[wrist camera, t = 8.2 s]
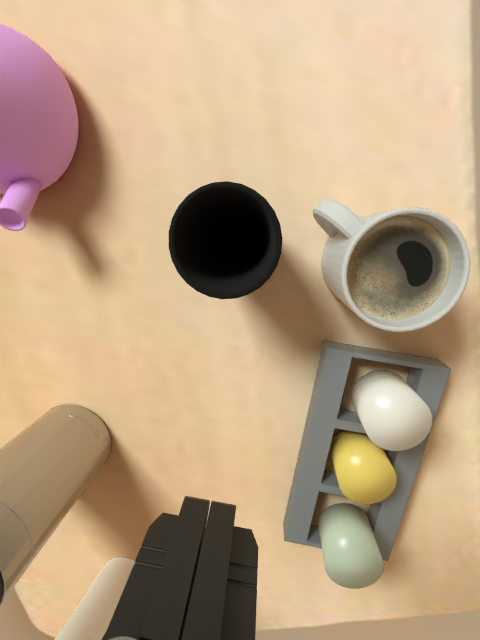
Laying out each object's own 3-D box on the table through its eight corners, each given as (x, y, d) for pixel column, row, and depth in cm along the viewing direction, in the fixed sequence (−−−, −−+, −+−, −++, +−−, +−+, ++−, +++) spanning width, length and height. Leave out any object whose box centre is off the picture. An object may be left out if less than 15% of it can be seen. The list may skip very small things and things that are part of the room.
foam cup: (170, 571, 45) (132, 699, 33) (140, 613, 48) (93, 748, 35) (108, 536, 45) (45, 653, 32) (80, 580, 47) (11, 706, 34)
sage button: (362, 548, 39) (375, 593, 34) (313, 539, 39) (319, 582, 34) (374, 508, 37) (390, 549, 32) (323, 499, 38) (331, 537, 33)
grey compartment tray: (380, 541, 41) (387, 560, 39) (283, 523, 42) (284, 540, 40) (438, 359, 35) (450, 368, 33) (324, 340, 36) (328, 348, 34)
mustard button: (373, 475, 39) (388, 508, 34) (325, 466, 39) (333, 498, 34) (386, 432, 38) (403, 461, 33) (335, 423, 38) (345, 450, 33)
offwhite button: (400, 425, 35) (421, 456, 30) (345, 415, 35) (358, 444, 30) (415, 375, 33) (440, 398, 28) (358, 365, 34) (373, 387, 29)
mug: (416, 297, 34) (474, 321, 24) (321, 313, 35) (340, 342, 26) (407, 185, 32) (467, 162, 22) (305, 206, 33) (320, 194, 23)
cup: (290, 220, 33) (302, 212, 22) (258, 290, 35) (253, 316, 24) (219, 187, 33) (192, 161, 22) (190, 259, 35) (152, 271, 24)
